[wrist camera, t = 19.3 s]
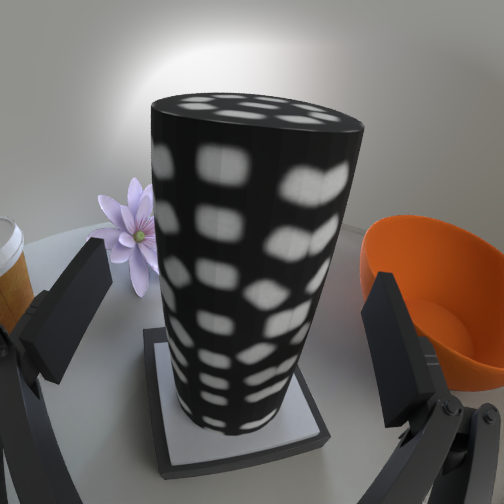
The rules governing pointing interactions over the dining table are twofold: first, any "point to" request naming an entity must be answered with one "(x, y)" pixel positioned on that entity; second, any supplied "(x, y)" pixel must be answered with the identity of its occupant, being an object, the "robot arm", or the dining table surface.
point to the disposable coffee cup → (13, 275)
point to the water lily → (131, 233)
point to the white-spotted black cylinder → (244, 242)
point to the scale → (214, 445)
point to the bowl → (445, 293)
